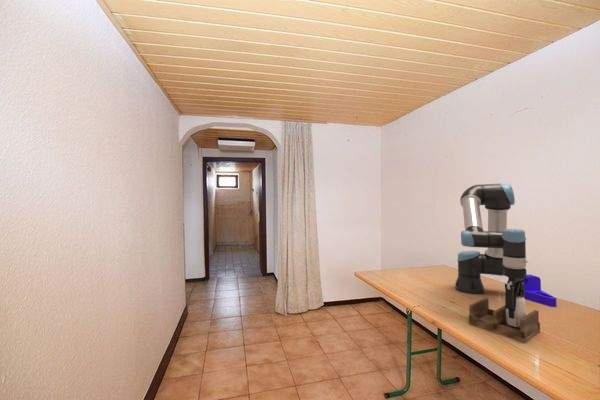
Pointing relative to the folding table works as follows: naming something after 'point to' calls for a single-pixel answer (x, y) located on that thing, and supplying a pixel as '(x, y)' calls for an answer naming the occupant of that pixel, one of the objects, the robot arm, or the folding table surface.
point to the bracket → (537, 292)
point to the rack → (503, 321)
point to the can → (519, 309)
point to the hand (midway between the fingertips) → (516, 323)
